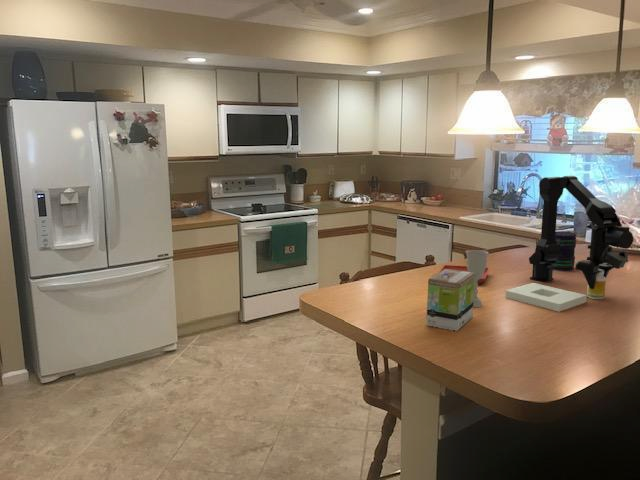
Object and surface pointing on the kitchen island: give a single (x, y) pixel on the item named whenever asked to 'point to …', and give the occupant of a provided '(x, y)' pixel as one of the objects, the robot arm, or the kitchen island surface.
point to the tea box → (450, 299)
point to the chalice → (476, 269)
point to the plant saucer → (464, 268)
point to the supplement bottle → (598, 287)
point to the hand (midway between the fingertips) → (596, 287)
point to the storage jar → (565, 251)
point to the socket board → (546, 296)
